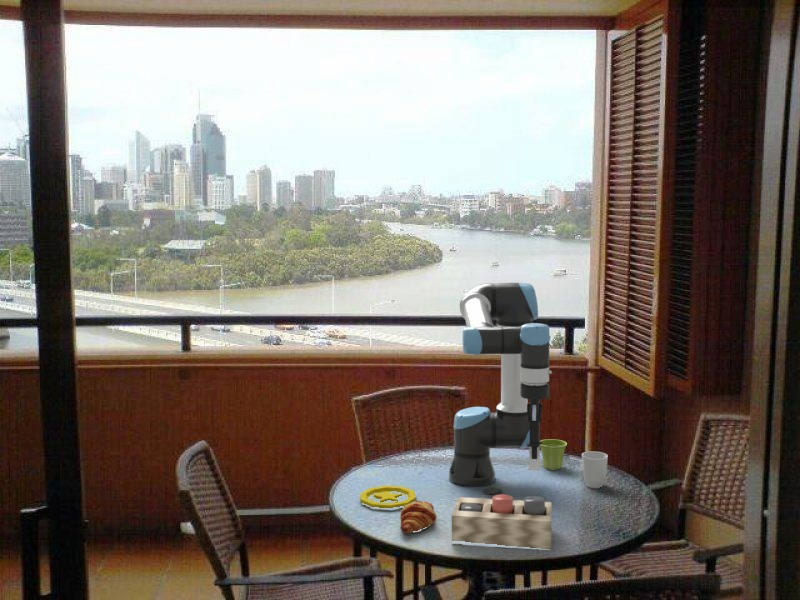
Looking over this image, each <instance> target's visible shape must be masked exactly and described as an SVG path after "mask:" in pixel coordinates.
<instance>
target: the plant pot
mask: <svg viewBox="0 0 800 600" xmlns="http://www.w3.org/2000/svg"><path fill="white" fill-rule="evenodd" d="M539 441H540V442H542V444H540V449H541V456H542V465H543V468H544V469H547V470H550V471H551V470H553V471H557V470H560V469H562V468H563V461H564V455H565V450H566V448H567V445H568V443H567V442H566V441H564V440H561V439H551V438H548V439H542V440H541V439H540V440H539Z"/></svg>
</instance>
